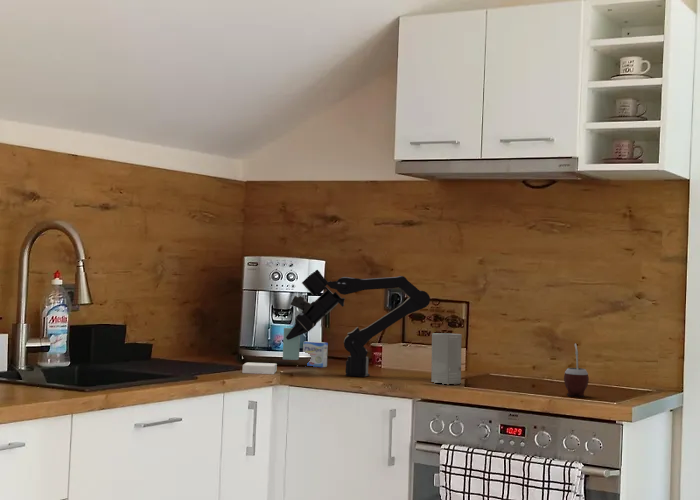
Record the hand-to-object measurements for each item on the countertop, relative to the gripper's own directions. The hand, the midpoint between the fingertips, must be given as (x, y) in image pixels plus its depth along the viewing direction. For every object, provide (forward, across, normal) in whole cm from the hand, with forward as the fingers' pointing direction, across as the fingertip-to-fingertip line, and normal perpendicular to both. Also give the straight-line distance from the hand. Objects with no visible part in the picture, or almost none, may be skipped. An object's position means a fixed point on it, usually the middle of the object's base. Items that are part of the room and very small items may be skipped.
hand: (287, 338), depth 320 cm
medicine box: (+3, -27, +14) cm, 31 cm away
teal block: (+4, 0, +6) cm, 7 cm away
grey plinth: (+14, 0, +2) cm, 14 cm away
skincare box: (-28, +12, +44) cm, 54 cm away
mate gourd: (-54, +31, +70) cm, 93 cm away
